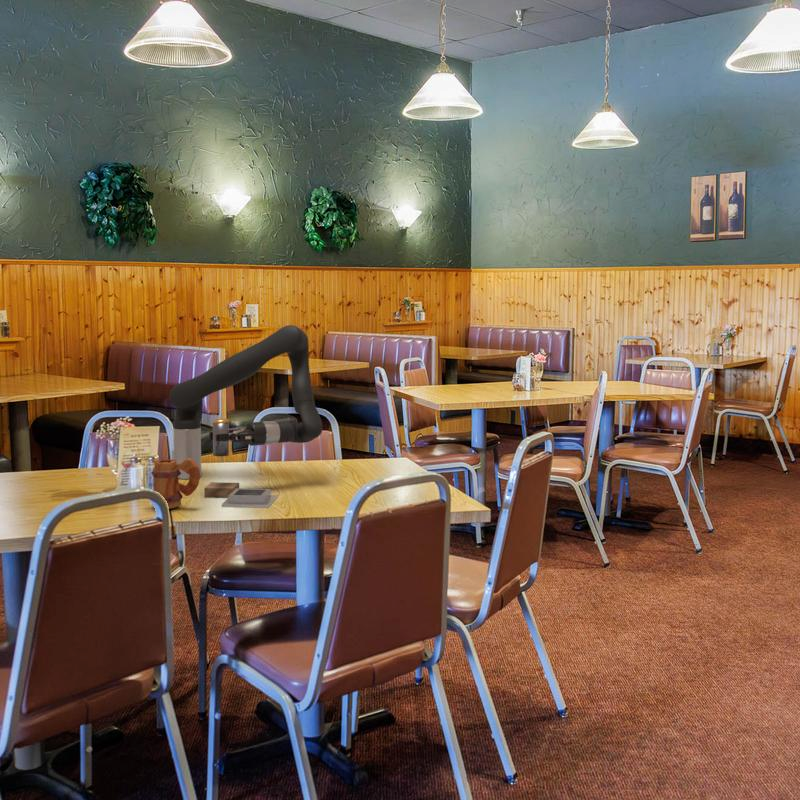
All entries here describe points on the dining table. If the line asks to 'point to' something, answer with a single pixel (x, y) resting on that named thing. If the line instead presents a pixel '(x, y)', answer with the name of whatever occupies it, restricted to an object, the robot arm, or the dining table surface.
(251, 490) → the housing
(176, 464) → the mug
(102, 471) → the dining table surface
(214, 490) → the stand
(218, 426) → the grey metal cylinder
